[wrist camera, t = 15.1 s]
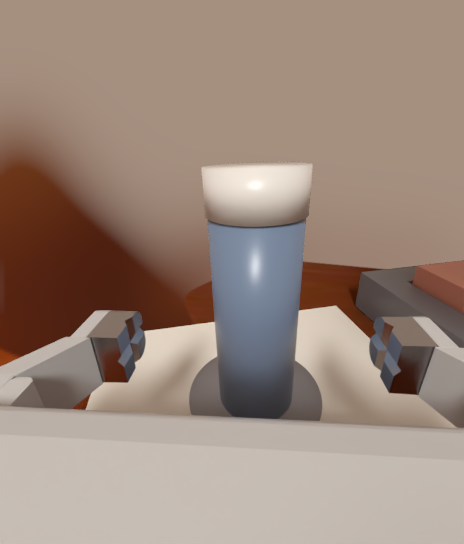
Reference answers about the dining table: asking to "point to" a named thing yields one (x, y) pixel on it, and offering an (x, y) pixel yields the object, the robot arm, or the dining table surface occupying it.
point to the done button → (443, 282)
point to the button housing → (406, 301)
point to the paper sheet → (306, 384)
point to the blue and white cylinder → (256, 279)
